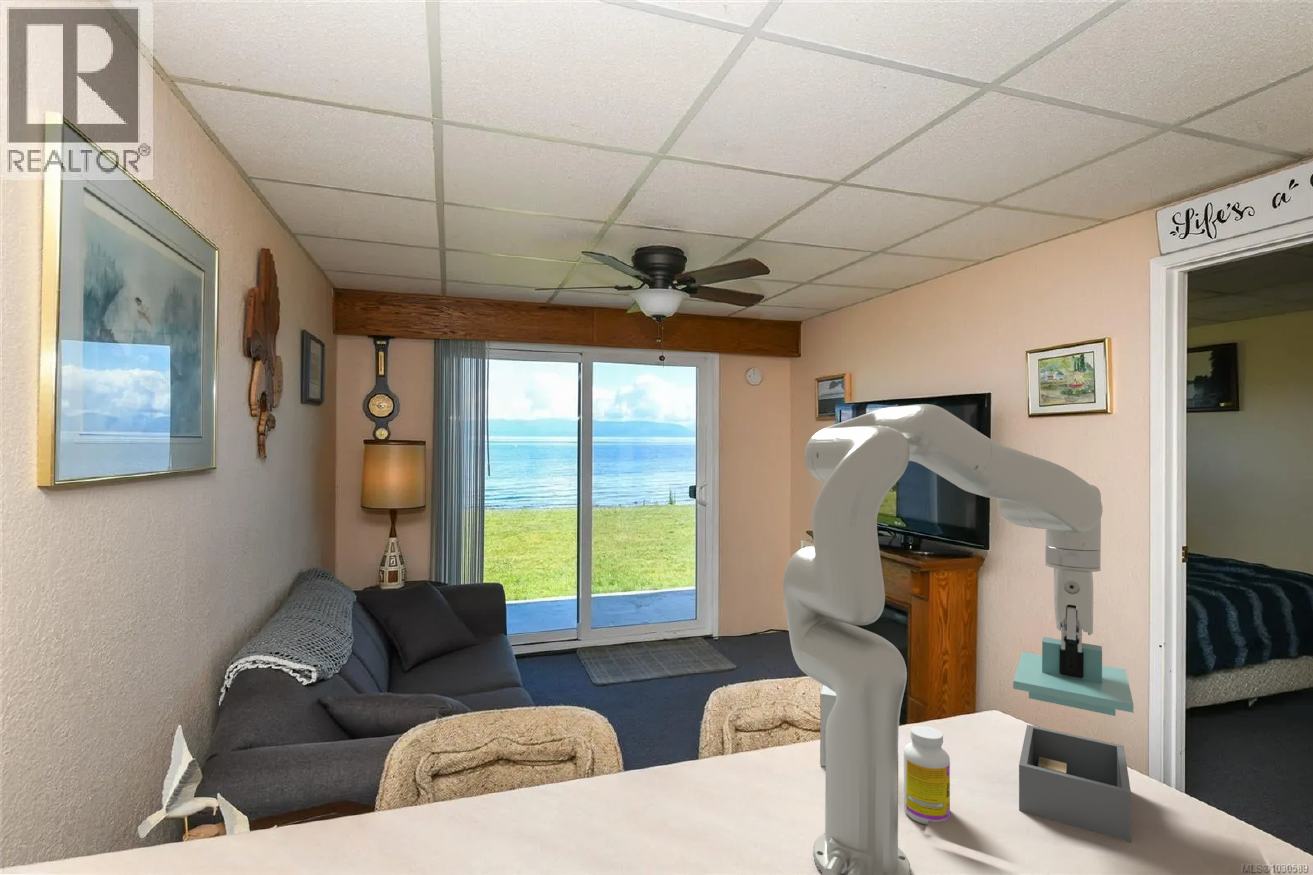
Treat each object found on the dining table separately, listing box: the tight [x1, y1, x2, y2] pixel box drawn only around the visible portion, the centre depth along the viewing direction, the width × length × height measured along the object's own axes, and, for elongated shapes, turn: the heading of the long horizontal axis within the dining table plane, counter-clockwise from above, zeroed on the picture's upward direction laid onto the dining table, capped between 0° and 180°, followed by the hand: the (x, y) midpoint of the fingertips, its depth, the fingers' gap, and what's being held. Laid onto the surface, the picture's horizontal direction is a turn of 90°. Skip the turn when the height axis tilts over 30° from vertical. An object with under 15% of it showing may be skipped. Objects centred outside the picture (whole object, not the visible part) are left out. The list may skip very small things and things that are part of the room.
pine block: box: [1038, 757, 1067, 774], centre depth 107 cm, size 4×4×3 cm
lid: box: [1012, 636, 1134, 717], centre depth 102 cm, size 19×15×8 cm
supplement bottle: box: [903, 725, 951, 825], centre depth 98 cm, size 7×7×13 cm
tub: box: [1018, 724, 1132, 843], centre depth 102 cm, size 18×14×8 cm
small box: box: [819, 684, 837, 767], centre depth 116 cm, size 8×6×13 cm
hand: (1071, 671), depth 102 cm, fingers closed on lid, 3 cm apart
